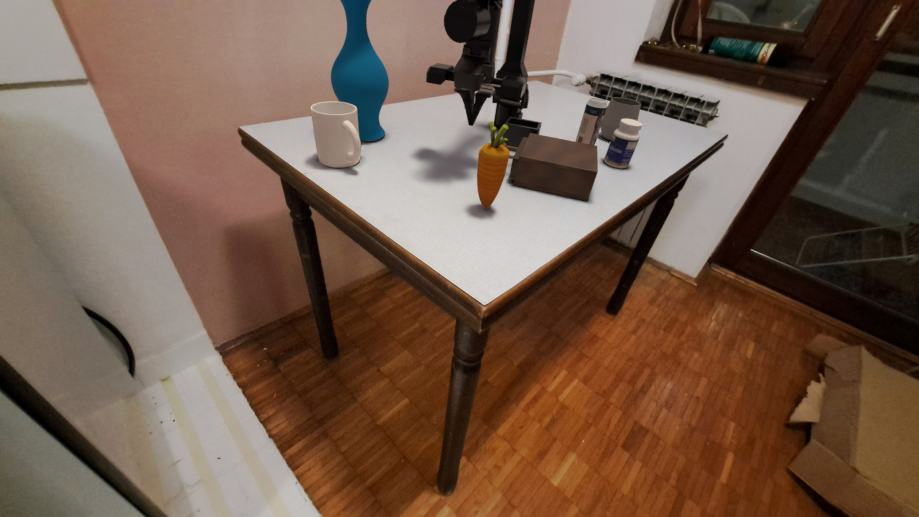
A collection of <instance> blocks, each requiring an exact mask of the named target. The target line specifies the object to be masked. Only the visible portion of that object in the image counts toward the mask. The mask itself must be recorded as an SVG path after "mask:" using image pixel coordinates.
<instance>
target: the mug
mask: <svg viewBox="0 0 919 517" xmlns="http://www.w3.org/2000/svg"><path fill="white" fill-rule="evenodd" d="M310 116H311V122H312V129H313V135H314V142H315V149H316V155H317V159H318V161H319V163H321V164H322V165H323V166H326V167H329V168H333V169H345V168H350V167H353V166H355V165H357V164H359V162H360V160H361V155H362V143H361V142H360V138H359V128H358V114H357V107H356V106H354V105H352V104H349V103H345V102H339V101H336V100H335V101H333V100H331V101H330V100H329V101H328V100H327V101H319V102H316V103H313V104H311V106H310Z"/></svg>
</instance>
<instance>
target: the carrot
mask: <svg viewBox="0 0 919 517" xmlns="http://www.w3.org/2000/svg"><path fill="white" fill-rule="evenodd" d="M488 124H489V132H490V142H487V143H484V144H483V145H482V147H481V148H480V149H479V152H478V158H477V166H476V167H477V169H476V188H477V194H478V198H479V202H480V204H481V206H482V208H483V209H485V210H487V209H489V208H490V206H492V204H493V203H494V201H495V200H496V199H497V196H498V195H499V192H500V190H501V187H502V185H503V182H504V180H505V177H506V172H507V168H508V164H509V160H510V159H509V155H511V154H510V153H511V152H510V150H508V149H507V148H506V147H505V146H503V145H502V144H503V143H504V142H506V141H507V140H508V139H507V138H503V139H502V137H503V135H504V134H505V132H506V131H507V129H508V126H507V125H503V126H502V127H501V129H500V130H499V129H498V132H497V129H496V127H494V120H493V121H489V122H488ZM496 132H497V134H496Z"/></svg>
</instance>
